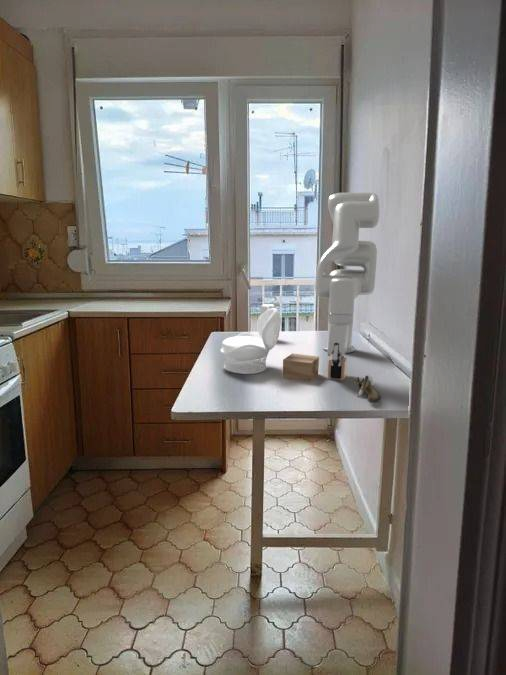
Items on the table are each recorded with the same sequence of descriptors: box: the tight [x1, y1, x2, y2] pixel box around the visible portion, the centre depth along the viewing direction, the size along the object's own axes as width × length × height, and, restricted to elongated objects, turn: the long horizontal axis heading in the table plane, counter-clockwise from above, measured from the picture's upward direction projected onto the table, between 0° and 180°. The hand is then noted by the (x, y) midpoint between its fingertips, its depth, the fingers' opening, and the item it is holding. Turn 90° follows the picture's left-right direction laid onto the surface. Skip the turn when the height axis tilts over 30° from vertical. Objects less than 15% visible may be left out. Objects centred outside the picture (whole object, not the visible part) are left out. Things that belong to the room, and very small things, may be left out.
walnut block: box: [282, 353, 320, 383], centre depth 141 cm, size 9×9×6 cm
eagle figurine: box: [349, 375, 382, 404], centre depth 122 cm, size 8×7×9 cm
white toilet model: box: [219, 307, 282, 375], centre depth 147 cm, size 20×20×20 cm
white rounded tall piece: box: [259, 303, 277, 338], centre depth 192 cm, size 7×7×15 cm
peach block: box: [327, 355, 348, 381], centre depth 140 cm, size 5×5×6 cm
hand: (337, 375), depth 140 cm, fingers closed on peach block, 5 cm apart
